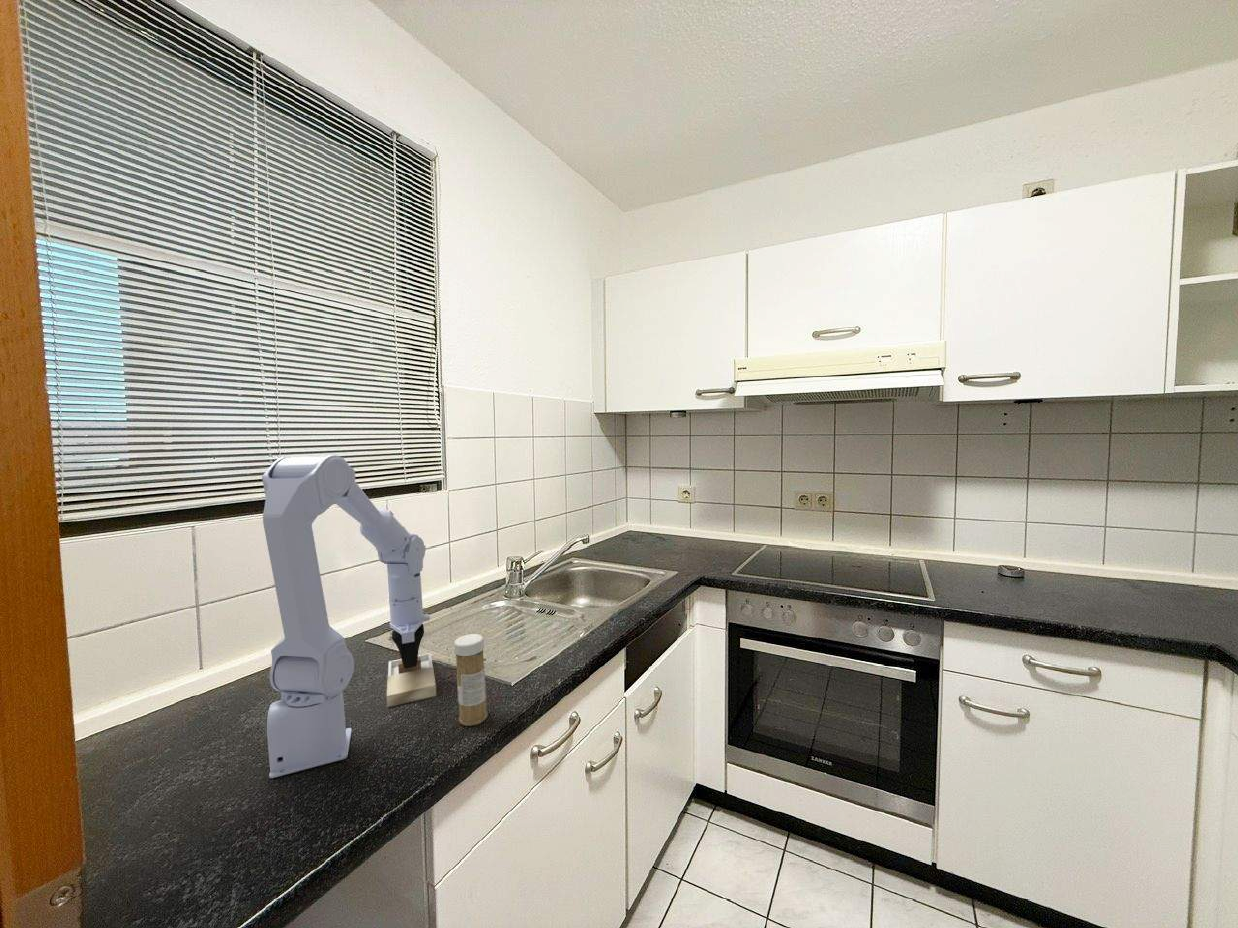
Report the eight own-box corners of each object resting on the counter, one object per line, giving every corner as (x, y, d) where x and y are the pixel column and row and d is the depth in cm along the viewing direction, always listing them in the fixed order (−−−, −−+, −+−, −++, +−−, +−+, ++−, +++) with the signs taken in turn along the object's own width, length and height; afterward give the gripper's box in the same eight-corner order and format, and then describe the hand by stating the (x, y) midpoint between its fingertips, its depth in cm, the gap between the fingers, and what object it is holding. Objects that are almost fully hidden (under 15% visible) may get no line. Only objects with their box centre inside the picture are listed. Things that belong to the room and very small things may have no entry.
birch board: (387, 707, 85) (386, 695, 85) (388, 686, 93) (387, 676, 93) (436, 695, 89) (435, 684, 88) (433, 676, 96) (433, 666, 96)
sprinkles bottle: (462, 712, 83) (457, 634, 82) (490, 710, 83) (485, 631, 82) (456, 728, 78) (450, 645, 77) (485, 725, 78) (480, 643, 78)
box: (388, 685, 93) (387, 678, 93) (389, 668, 100) (388, 661, 100) (433, 675, 96) (433, 668, 96) (431, 659, 103) (430, 652, 103)
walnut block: (398, 675, 94) (398, 664, 95) (399, 671, 98) (398, 661, 98) (421, 670, 96) (420, 659, 96) (420, 667, 100) (420, 656, 100)
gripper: (430, 603, 89) (435, 677, 90) (426, 583, 102) (430, 647, 103) (387, 611, 86) (392, 686, 87) (388, 589, 99) (393, 654, 100)
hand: (410, 666), depth 95 cm, fingers closed
